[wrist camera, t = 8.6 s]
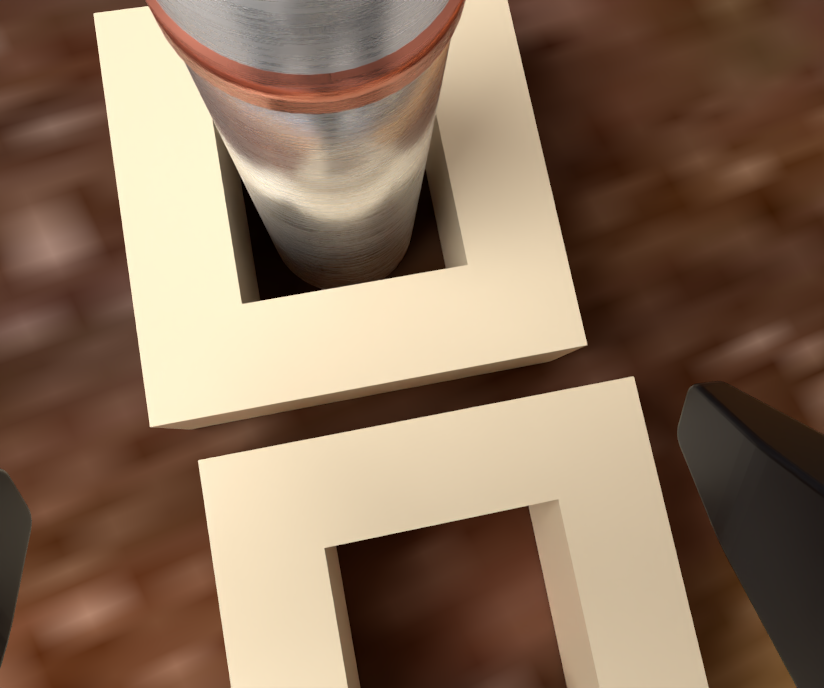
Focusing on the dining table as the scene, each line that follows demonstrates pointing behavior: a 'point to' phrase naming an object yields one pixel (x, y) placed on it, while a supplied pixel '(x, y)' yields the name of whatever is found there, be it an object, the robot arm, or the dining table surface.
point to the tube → (322, 117)
